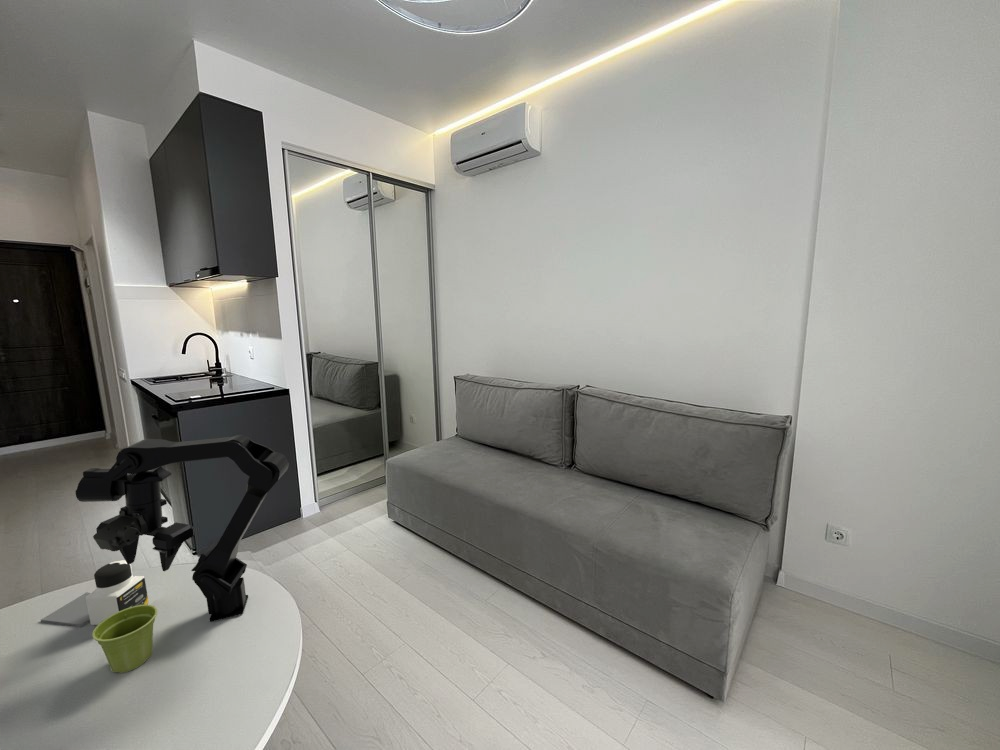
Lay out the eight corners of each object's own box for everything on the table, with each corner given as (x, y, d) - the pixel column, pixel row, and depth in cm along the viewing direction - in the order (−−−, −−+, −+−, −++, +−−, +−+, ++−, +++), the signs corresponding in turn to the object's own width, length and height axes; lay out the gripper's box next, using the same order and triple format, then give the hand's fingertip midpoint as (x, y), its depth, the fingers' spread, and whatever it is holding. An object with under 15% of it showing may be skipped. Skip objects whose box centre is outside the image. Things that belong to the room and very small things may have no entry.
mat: (124, 598, 99) (124, 596, 99) (82, 626, 90) (81, 624, 90) (86, 594, 101) (86, 592, 101) (41, 621, 92) (40, 619, 92)
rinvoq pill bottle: (122, 625, 90) (112, 576, 88) (90, 625, 90) (80, 576, 89) (149, 602, 97) (141, 556, 95) (120, 603, 97) (111, 556, 96)
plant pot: (160, 634, 88) (154, 597, 86) (166, 660, 81) (159, 621, 80) (99, 660, 81) (92, 621, 80) (100, 691, 75) (92, 649, 73)
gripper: (62, 510, 81) (69, 582, 84) (141, 524, 78) (146, 598, 81) (123, 487, 92) (128, 552, 95) (194, 499, 89) (197, 565, 91)
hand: (148, 566), depth 90 cm, fingers open, 9 cm apart
